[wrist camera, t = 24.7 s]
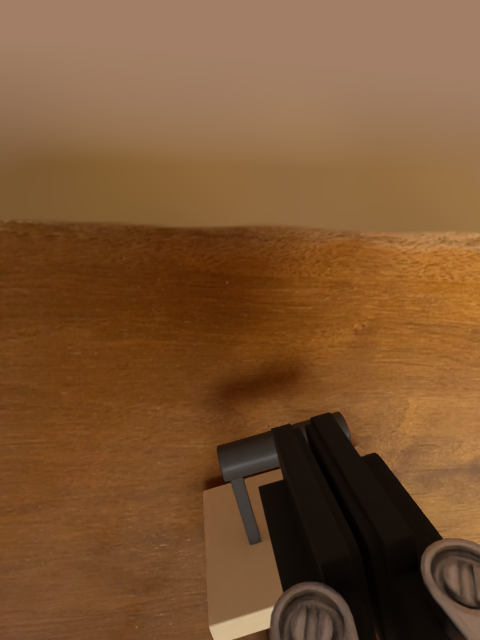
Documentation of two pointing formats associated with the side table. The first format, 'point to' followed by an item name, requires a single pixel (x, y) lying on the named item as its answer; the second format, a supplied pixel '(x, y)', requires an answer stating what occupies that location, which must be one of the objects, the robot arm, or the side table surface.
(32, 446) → the side table surface
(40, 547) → the side table surface
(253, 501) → the drawer
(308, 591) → the robot arm
